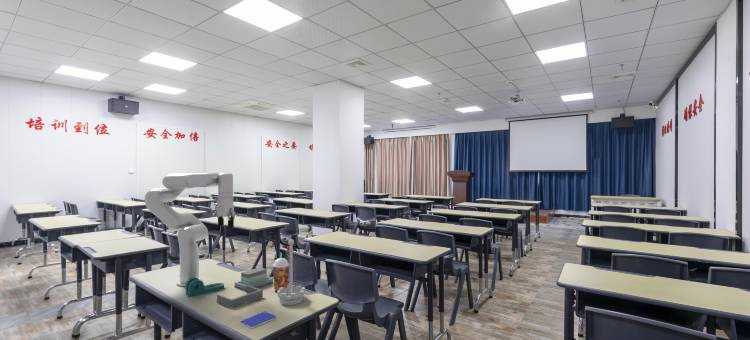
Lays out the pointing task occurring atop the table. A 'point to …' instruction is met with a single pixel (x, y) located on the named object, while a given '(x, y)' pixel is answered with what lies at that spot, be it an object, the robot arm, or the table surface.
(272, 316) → the hard drive
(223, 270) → the table surface
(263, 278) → the gray rectangular block
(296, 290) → the flag stand
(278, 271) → the smoothie
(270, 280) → the tray
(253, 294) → the bay
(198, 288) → the bracket
